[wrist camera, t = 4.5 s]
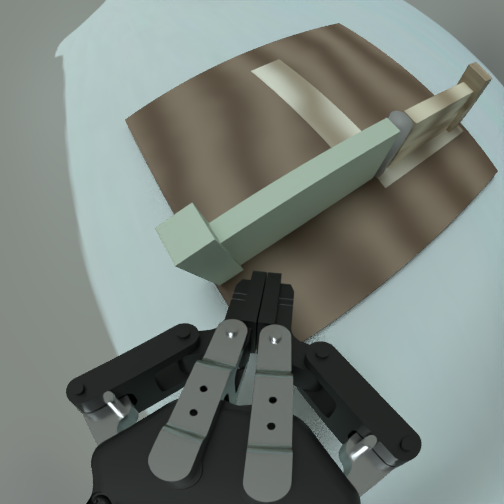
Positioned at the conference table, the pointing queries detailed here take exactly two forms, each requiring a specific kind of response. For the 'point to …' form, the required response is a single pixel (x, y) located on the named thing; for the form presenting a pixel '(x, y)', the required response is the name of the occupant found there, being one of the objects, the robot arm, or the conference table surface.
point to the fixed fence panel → (442, 110)
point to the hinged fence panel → (280, 204)
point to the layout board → (303, 150)
